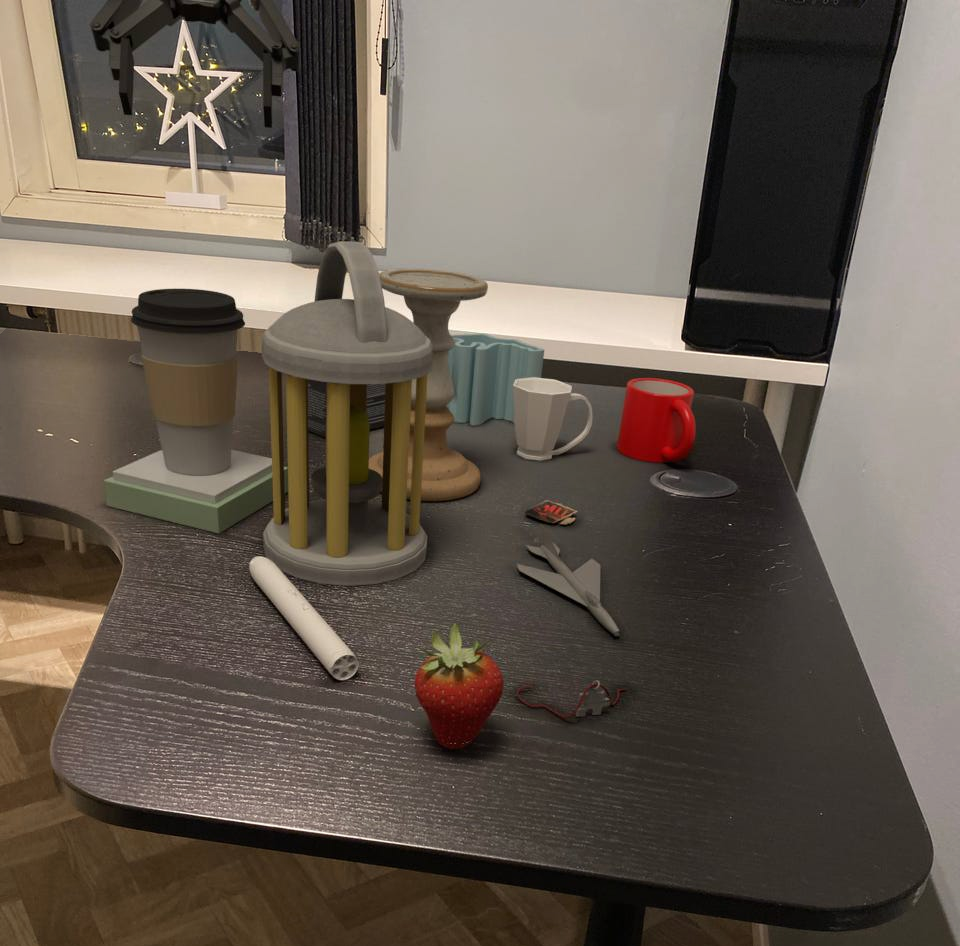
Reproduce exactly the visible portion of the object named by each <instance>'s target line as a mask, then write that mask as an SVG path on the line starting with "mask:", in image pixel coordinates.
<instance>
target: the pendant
mask: <svg viewBox="0 0 960 946" xmlns="http://www.w3.org/2000/svg"><path fill="white" fill-rule="evenodd" d="M599 688H602V689H603V690H599V691H598V689H599ZM528 689H532V686H531V685H529V686H523V687H521V688H519V689H518V690H517V691H516V697H517V699H518V700H519V701H520V702H521V703H523V704H524V705H526V706H527V707H530V708H534V709H535V708H544V709H546V710H547V711H550V712H552V713H553V714H555V715H557V716H558V717H560V718H564V719H570V718H572V717H573V716H575V717H577V718H579V717H585V716H586V713H587V711H588V710H591V715H592V716H597V715H602V711H603V710H602V709H603V707H604V708H605V707H608V706H615V705H616V704H617V703H618V701H619V699H620V692H622V691H627V688H624V687H623V688H619V689H617V691H616V693H617V695H616V699H615V700H614V702H612V698H611V696H610V697H608V696H609V695H610V693H609V690H608V689H607V687H606V686H604V685H603V684H601V683H600V680H594V681H593V682H592V684H590V685H589V686H587V688H586V689H585V690H584V691H583V692H580V693H579V694H578V700H577V701H578V703H577V706H576V707H575V709H574V711H575V710H577V712H574V711H573V712H572V713H571V714H569V715H565V714H561V713H559V712H558V711H556V710H554V709H553V708H551V707H549V706H547V705H544V704H536V705H534V704H530V703H528V702H527V701H525V700H524V699H523V698H522V697H520V692H521V691H523V690H528ZM605 693H606V695H608V696H607V697H605ZM604 700H605V701H607V700H610V701H611V702H604V703H594V704H586V703H590V702H592V703H593V702H597V701H598V702H600V701H604ZM582 703H584V705H583V706H581V705H582Z"/></svg>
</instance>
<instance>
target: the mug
mask: <svg viewBox="0 0 960 946" xmlns="http://www.w3.org/2000/svg"><path fill="white" fill-rule="evenodd" d="M694 396H695V391H694V389H693V388H692V387H690V386H688V385H686V384H684V383H681V382H678V381H674V380H669V379H665V378H656V377H655V378H654V377H640V378H633V379H630V380H629V381H628V382H627V384H626V389H625V395H624V400H623V405H622V406H623V407H622V413H621V419H620V424H619V430H618V437H617V441H616V442H617V443H616V449H617V451H618V452H619V453H621V454H623V456H627V457H629V458H632V459H636V460H639V461H645V462H648V463H649V462H651V463H678V462H680V461H683V460H684V459H686V458H687V457H688V455H690V453H691V451H692V449H693V446H694V444H695V441H696V435H697V434H696V432H697V425H696V419H695V415H694V413H693V411H692V405H693V401H694Z"/></svg>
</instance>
